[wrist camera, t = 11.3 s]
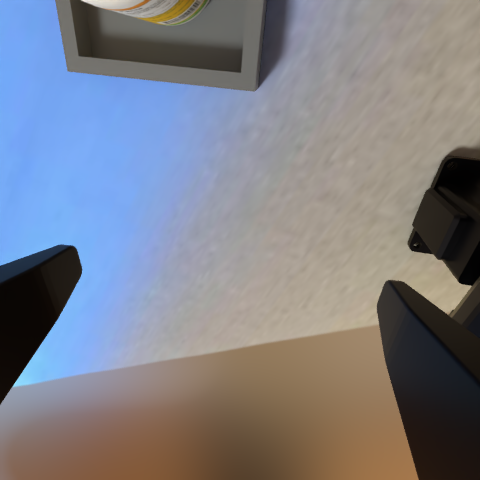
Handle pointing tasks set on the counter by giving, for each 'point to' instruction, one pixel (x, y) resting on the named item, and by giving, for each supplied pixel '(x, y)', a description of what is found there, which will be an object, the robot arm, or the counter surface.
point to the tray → (167, 44)
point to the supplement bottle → (155, 9)
